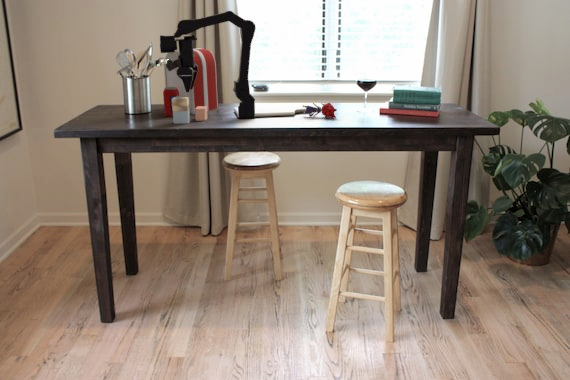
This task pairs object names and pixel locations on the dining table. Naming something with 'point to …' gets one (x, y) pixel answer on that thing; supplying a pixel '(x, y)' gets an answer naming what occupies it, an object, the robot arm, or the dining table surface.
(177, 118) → the gray block
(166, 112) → the beverage can
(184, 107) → the maple block
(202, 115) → the terracotta block
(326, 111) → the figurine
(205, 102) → the striped red arch
